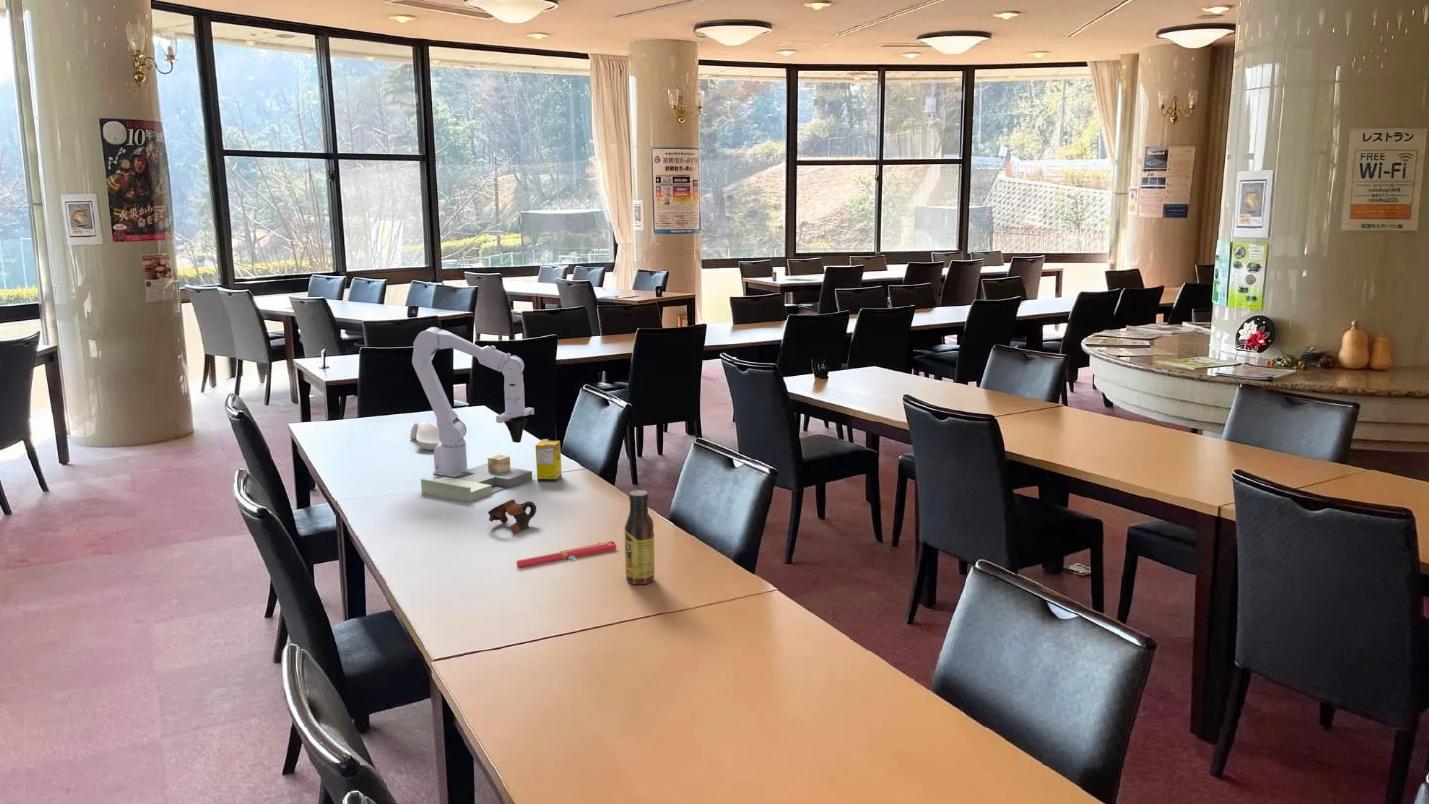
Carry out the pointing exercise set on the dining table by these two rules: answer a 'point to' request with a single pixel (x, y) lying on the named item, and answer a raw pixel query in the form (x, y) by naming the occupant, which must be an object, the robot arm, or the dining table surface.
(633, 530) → the sauce bottle
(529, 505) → the pottery mug
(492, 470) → the maple block
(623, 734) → the dining table surface
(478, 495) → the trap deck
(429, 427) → the spoon rest
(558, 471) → the supplement box
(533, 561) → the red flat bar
